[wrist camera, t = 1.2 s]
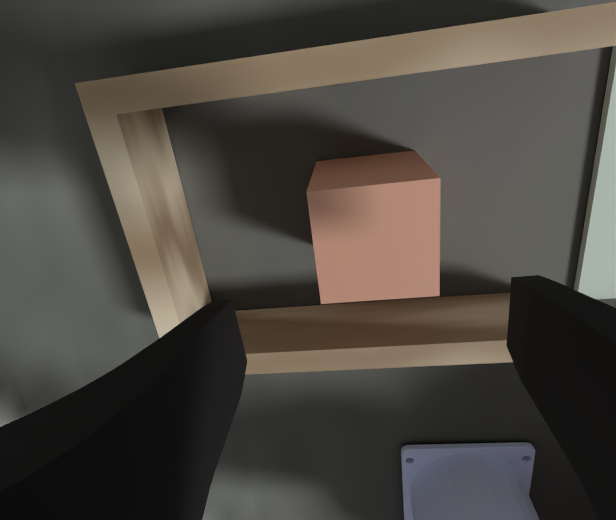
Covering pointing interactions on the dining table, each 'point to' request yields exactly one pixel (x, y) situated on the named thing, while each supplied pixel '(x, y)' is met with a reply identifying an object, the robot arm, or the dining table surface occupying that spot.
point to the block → (375, 227)
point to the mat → (601, 207)
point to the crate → (291, 76)
